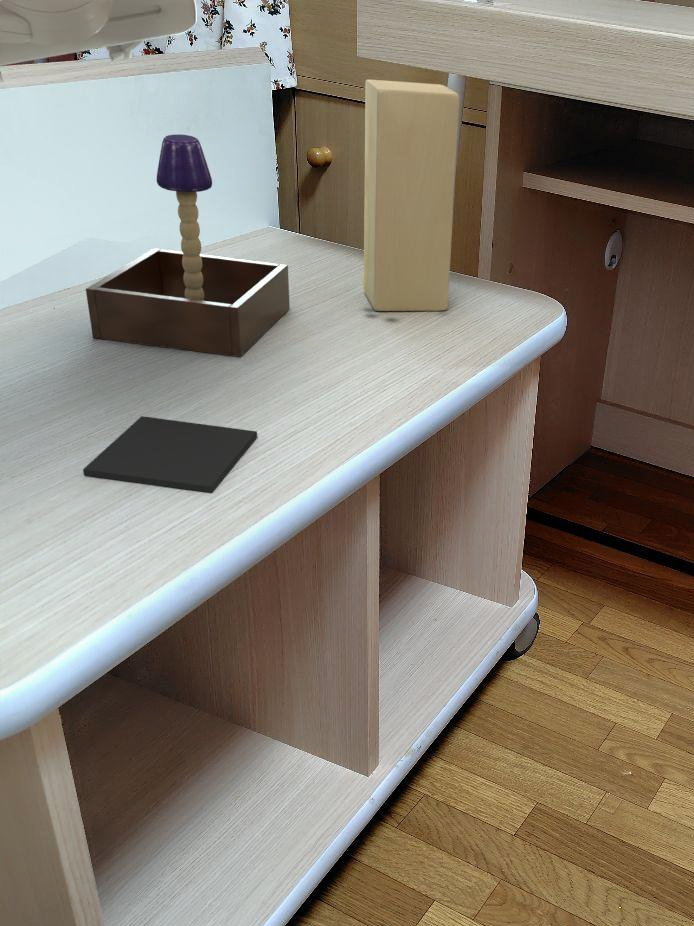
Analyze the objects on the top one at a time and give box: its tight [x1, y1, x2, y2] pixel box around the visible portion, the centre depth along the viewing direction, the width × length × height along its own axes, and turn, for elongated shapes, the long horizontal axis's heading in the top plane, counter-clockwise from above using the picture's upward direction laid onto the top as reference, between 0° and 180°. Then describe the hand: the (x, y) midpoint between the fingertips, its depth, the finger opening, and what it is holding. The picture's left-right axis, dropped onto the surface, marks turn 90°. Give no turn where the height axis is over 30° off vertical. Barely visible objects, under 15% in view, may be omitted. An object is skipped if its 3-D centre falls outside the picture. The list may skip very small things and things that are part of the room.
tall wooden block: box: [363, 79, 460, 312], centre depth 100 cm, size 8×7×21 cm
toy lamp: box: [156, 134, 213, 301], centre depth 89 cm, size 5×5×17 cm
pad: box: [82, 415, 258, 493], centre depth 71 cm, size 9×9×1 cm
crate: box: [85, 248, 291, 358], centre depth 93 cm, size 14×14×4 cm
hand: (54, 61), depth 75 cm, fingers open, 8 cm apart
